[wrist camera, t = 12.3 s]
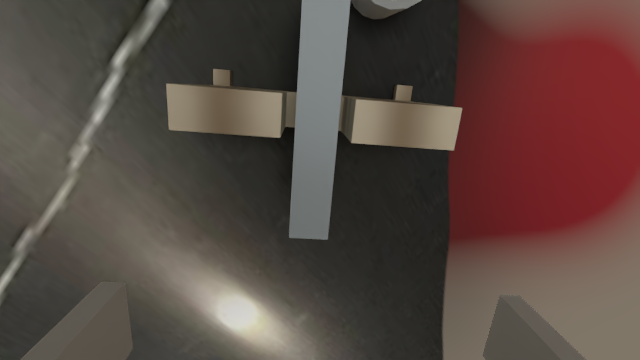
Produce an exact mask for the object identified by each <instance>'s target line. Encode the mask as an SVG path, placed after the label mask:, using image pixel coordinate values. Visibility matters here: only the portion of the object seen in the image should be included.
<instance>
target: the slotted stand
mask: <svg viewBox="0 0 640 360" xmlns="http://www.w3.org/2000/svg"><path fill="white" fill-rule="evenodd" d="M412 87H413V86H404V85H394V92H393V99H392V100H390V99H378V98H366V97H354V96H342V95H341V106H340V116H339V127H338V131H341V132H342V133H343V134H344V135H345V136H346V137H347V139H348V140H349V141H350V142H351V143H358V144H372V145H386V146H399V147H413V148H427V149H441V150H454V147H455V142H456V136H457V132H458V127H459V122H460V117H461V112H462V108H458V107H450V106H443V105H435V104H427V103H419V102H412V101H410V99H411V93H412ZM166 88H167V106H168V123H169V130H177V131H191V132H205V133H219V134H233V135H246V136H260V137H274V138H280V137H281V135H282V133H283V131H284V129H285V127H295V119H296V101H297V92H294V91H282V90H269V89H257V88H245V87H233V86H232V71H230V70H219V69H213V85H196V84H166Z"/></svg>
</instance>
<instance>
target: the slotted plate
mask: <svg viewBox="0 0 640 360" xmlns="http://www.w3.org/2000/svg"><path fill="white" fill-rule="evenodd" d="M350 1H351V0H302V12H301V29H300V47H299V65H298V83H297V101H296V119H295V136H294V154H293V172H292V190H291V208H290V226H289V238H304V239H325V240H328V231H329V221H330V210H331V200H332V189H333V179H334V168H335V158H336V147H337V137H338V127H339V116H340V106H341V95H342V85H343V74H344V64H345V53H346V43H347V32H348V22H349V11H350Z"/></svg>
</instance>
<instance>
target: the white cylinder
mask: <svg viewBox="0 0 640 360" xmlns="http://www.w3.org/2000/svg"><path fill="white" fill-rule="evenodd" d="M351 1H352V3H353V5H354V8H355V9H357V10H358V11H359V12H360V13H361V14H362V15H363V16H365V17H368V18H371V19H383V18H386V17H388V16H391V15H393V14H395V13H398V12H400V11H402V10H404V9H407V8H409V7H410V6H412V5H414V4H416V3H418V2H420V1H421V0H351Z"/></svg>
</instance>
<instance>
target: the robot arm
mask: <svg viewBox="0 0 640 360" xmlns="http://www.w3.org/2000/svg"><path fill="white" fill-rule="evenodd" d="M132 349H133V345H132V336H131V327H130V318H129V309H128V301H127V292H126V283H125V282H108V281H101V282H100V283H99V284H98V285H97V286H96V287H95V288H94V289H93V290H92V291H91V292H90V293H89V294H88V295H87V296H86V297H85V298H83V299H82V300H81V301H80V302H79V303H78V304H77V305H76V306H75V307H74V308H73V309H72V310H71V311H70V312H69V313H68V314H67V315H66V316H65V317H64V318H63V319H62V320H61V321H60V322H59V323H58V324H57V325H56V326H55V327H53V328H52V329H51V330H50V331H49V332H48V333H47V334H46V335H45V336H44V337H43V338H42V339H41V340H40V341H39V342H38V343H37V344H36V345H35V346H34V347H33V348H32V349H31V350H30V351H29V352H28V353H27V354H26V355H24V356H23V357H22V358H21V359H20V360H126V358H127V357H128V355H129V354H130V352H131V351H132ZM483 357H484V358H485V360H586V359H585V358H584V357H583V356H582V355H581V354H580V353H578V351H577V350H576V349H574V348H573V347H572V346H571V345H570V344H569V343H568V342H567V341H566V340H565V339H564V338H563V337H562V336H561V335H560V334H559V333H558V332H557V331H556V330H555V329H554V328H553V327H552V326H550V324H548V323H547V322H546V321H545V320H544V319H543V318H542V317H541V316H540V315H539V314H538V313H537V312H536V311H535V310H534V309H533V308H532V307H531V306H530V305H529V304H528V303H527V302H525V300H523V299H522V298H521V297H520V296H508V295H500V297H499V300H498V304H497V307H496V311H495V314H494V317H493V321H492V325H491V328H490V331H489V335H488V338H487V342H486V345H485V349H484V352H483Z"/></svg>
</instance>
